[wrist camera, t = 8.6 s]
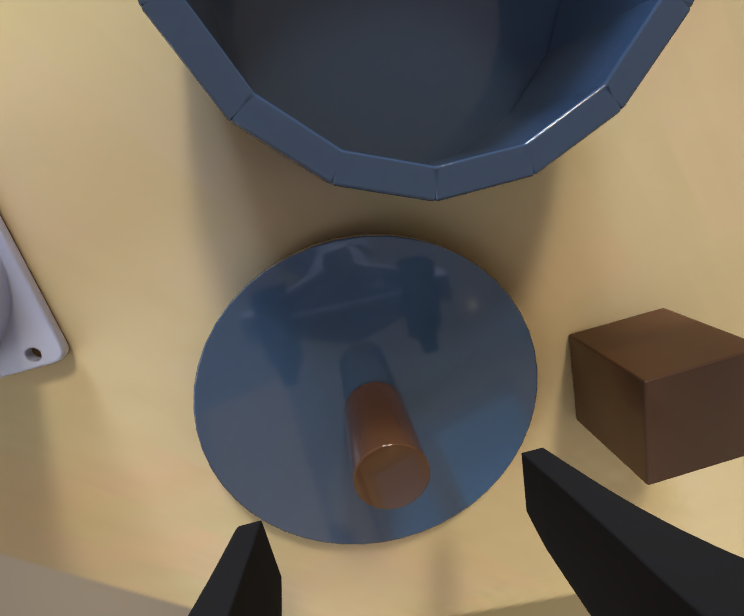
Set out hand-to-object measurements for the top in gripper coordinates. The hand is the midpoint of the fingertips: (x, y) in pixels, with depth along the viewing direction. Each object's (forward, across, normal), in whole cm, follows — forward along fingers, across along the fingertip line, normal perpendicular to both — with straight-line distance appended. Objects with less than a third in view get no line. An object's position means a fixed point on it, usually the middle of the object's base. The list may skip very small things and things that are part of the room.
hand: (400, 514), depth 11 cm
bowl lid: (+6, 0, 0) cm, 6 cm away
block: (+7, -11, +2) cm, 13 cm away
